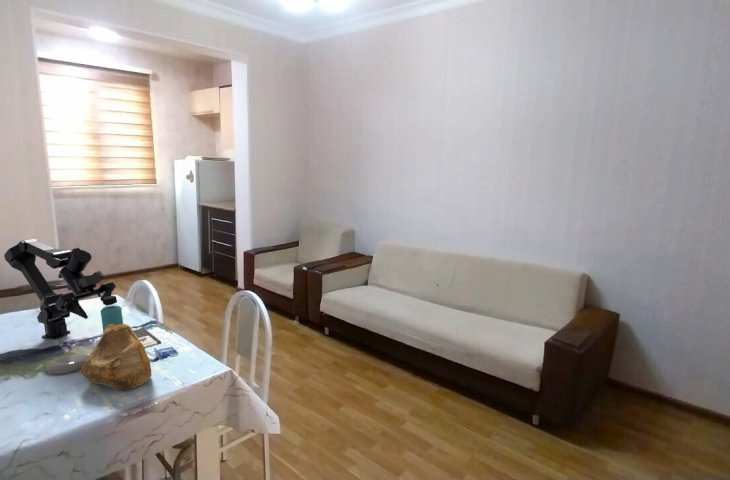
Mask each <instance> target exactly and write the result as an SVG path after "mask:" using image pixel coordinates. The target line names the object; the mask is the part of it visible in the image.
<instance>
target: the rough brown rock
mask: <svg viewBox="0 0 730 480" xmlns="http://www.w3.org/2000/svg"><path fill="white" fill-rule="evenodd" d="M133 330H134V329H132V327H131V326H130V325H129V324H126V323H123V324H120V325H118V326H117V325H114V324H110V325H108V326H107V327H106V329H105V331H104V333H103V332H102V336H101V338H100V340H99V341H98V343H97V344H96V346H95V347H94V349H93V351H91V352H90V354H88V355H89V356H88V357H87V358H86V360H85V362H84V364H83V365H82V368H81V370H79V374H80V375H81V376H83V377H84V378H85V379H87V380H88V381H89V383H93V384H95V385H97V384H98V385H105V386H106V387H109V388H112V389H114V390H116V391H117V390H118V391H124V392H125V391H126V390H127V389H134V388H136V387H138V386H141V385H143V384H145V383H146V382H147V381H149V380H150V378H151V377H152V368H151V367H152V366H151V362H150V358H149V357H148V354H147V351H146V349H145V348H144V347H143V344H142V343H141V342H140V341H139V339H138V337H137V336H136V334H135V333H134V332H133Z"/></svg>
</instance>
